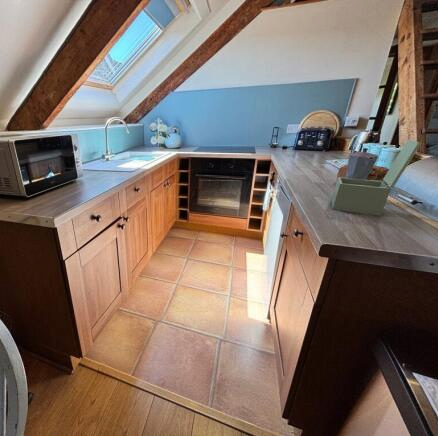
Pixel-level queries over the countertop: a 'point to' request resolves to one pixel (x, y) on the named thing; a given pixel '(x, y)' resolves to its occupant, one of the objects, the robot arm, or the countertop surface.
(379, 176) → the bread
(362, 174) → the moka pot
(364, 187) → the bin
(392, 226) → the countertop surface
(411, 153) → the bin lid
